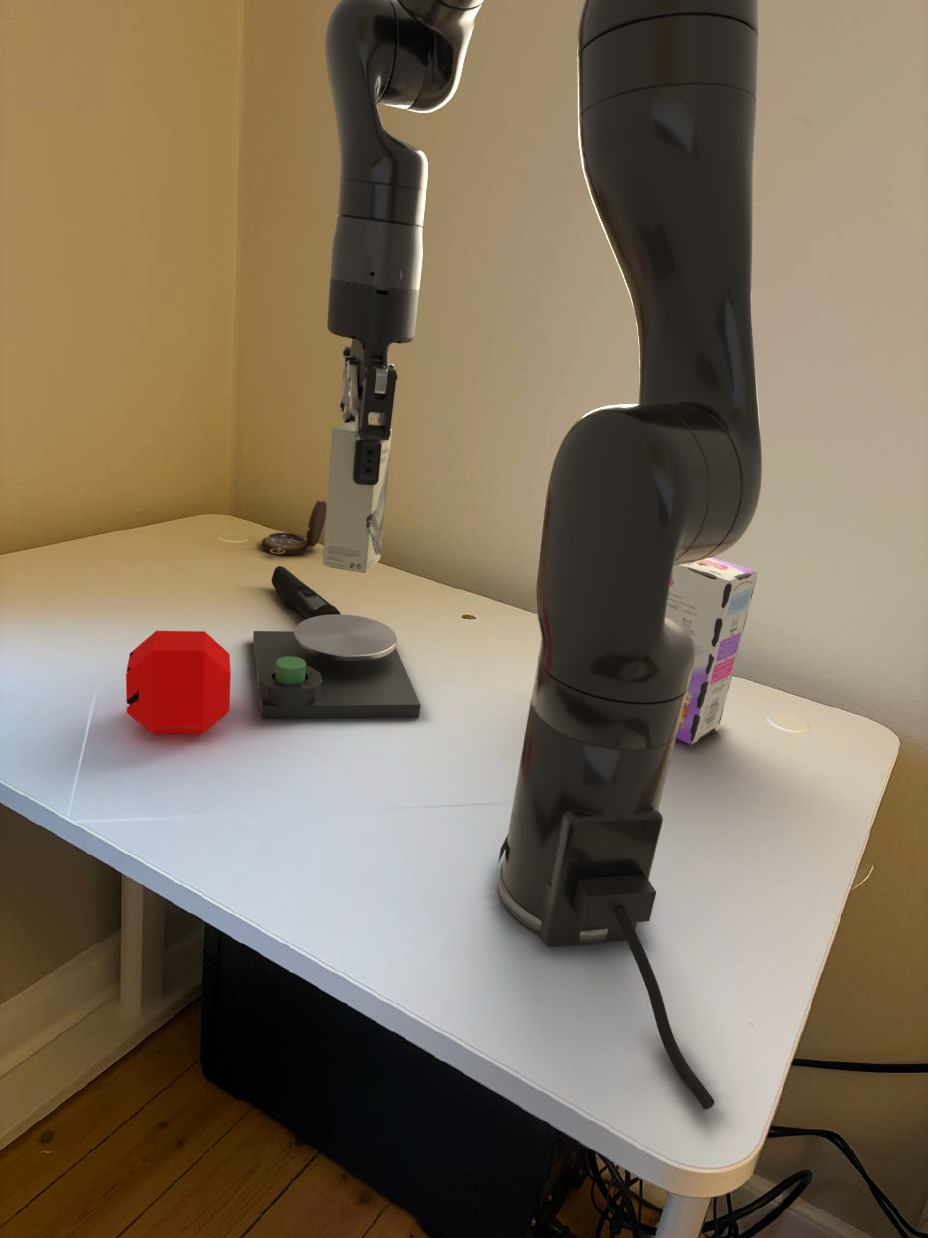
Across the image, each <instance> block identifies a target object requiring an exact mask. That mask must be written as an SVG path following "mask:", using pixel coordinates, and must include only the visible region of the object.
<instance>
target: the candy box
mask: <svg viewBox="0 0 928 1238" xmlns="http://www.w3.org/2000/svg"><path fill="white" fill-rule="evenodd" d="M758 573H759V571H758V570H755V569H753V568H752V569H751V568H748V567H746V566H743V565H739V564H735V563H733V562H729V561H726V560H723V559H721V558H717V557H715V556H714V557H711V558H707V559H703V560H699V561H695V562H690V563H686V564H681V565H676V566H673V571H672V576H671V582H670V588H669V594H668V601H667V608H666V616H665V617H667V618H669V619H671V620H673V621H674V622H676V623H677V624H679V625H680V626H681V627H683V628H684V629H685V630H686V631H687V632H688V633H689V634H690V636H691V637H692V639H693V642H694V645H695V661H694V666H693V670H692V674H691V679H690V683H689V686H688V690H687V695H686V699H685V703H684V707H683V711H682V715H681V719H680V724H679V728H678V732H677V735H676V739H675V740H679V741H681V742H684V743H686V744H688V745H690V746H692V745H693V744H696V743H697V742H699V741H700V740H702V739H704V738H705V737H707V736H709V735H711V734H713V733H715V732H717V730H719V728H720V724H721V720H722V718H723V717H722V716H723V713H724V708H725V704H726V701H727V697H728V693H729V690H730V685H731V681H732V678H733V674H734V669H735V665H736V662H737V657H738V653H739V649H740V646H741V642H742V637H743V634H744V629H745V625H746V622H747V618H748V613H749V609H750V605H751V601H752V597H753V594H754V589H755V585H756V582H757V577H758Z"/></svg>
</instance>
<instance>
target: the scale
mask: <svg viewBox="0 0 928 1238" xmlns="http://www.w3.org/2000/svg"><path fill="white" fill-rule="evenodd" d="M252 633H253V634H252V646H253V655H254V663H255V664H254V665H255V675H256V683H257V688H256V689H257V696H258V701H259V707H260V708H259V710H260V718H261V719H260V720H264V721H266V720H329V719H332V720H334V719H339V720H340V719H341V720H342V719H394V718H395V719H401V718H403V719H405V718H410V719H411V718H420V713H421V701H420V700H419V697H418V695H417V693H416V691H415V689H414V686H413V684H412V682H411V679H410V677H409V675H408V673H407V670H406V668H405V666H404V663H403V660H402V659H401V657H400V654H399V651H398V649H397V647H396V648H395V649H394V650H393V651H392V652H391V653H390V654H388V655H386V656H384V657H381V658H378V659H374V660H368V661H354V662H352V661H337V660H331V659H326V658H322V657H319V656H316V655H313V654H311V653H308V652H306V651H305V650H303V649H302V648H300V647H299V646H298V645H297V644H296V642H295V640H294V630H293V631H290V630H289V631H288V630H253V632H252ZM287 656H292V657H298V658H301V659H303V660H304V661H305V662H306V671H305V681H304V683H301V684H297V685H286V684H282V683H278V682H276V680H275V671H276V661H277V660H278V659H279V658H282V657H287Z"/></svg>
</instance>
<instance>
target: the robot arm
mask: <svg viewBox="0 0 928 1238" xmlns="http://www.w3.org/2000/svg"><path fill="white" fill-rule="evenodd" d="M485 1H486V0H339V1H338V3H336V5H335V6H334V8H333V10H332V12H331V14H330V16H329V19H328V21H327V25H326V30H325V36H324V56H325V64H326V72H327V77H328V78H327V79H328V81H329V88H330V93H331V98H332V102H333V108H334V115H335V122H336V128H337V129H336V131H337V137H338V138H337V139H338V145H339V147H338V148H339V155H340V157H339V159H340V174H339V188H338V189H339V190H338V191H339V192H338V203H337V205H338V207H337V215H338V216H337V217H336V224H335V230H334V235H333V241H332V247H331V263H330V275H329V276H330V277H329V292H328V293H329V294H328V307H327V308H328V309H327V323H326V324H327V325H326V327H327V330H328V331H329V332H330V333H331V334H333V335H335V336H337V337H341V338H346V339H351V344H350V345H351V346H344V349H343V351H342V356H343V359H342V365H341V368H342V383H341V384H342V385H341V390H340V391H341V392H340V394H341V402H340V403H339V408H340V410H341V414H342V415H341V418H342V422H343V424H345V423H348V422H351V421H352V422H355V431H354V437H355V452H354V465H353V480H354V482H355V483H356V484H359V485H376V484H377V483H378V481H379V470H380V459H381V448H382V443H384V442H385V440H387V441H388V440H389V437H390V436H391V430H390V428H391V429H392V419H393V412H394V411H393V410H394V403H395V393H396V385H397V381H398V374H397V369H395V365H394V364H391V363H390V351H389V349H390V345H392V344H408V343H411V342H412V341H413V340H414V339H415V335H416V326H417V318H418V307H419V297H420V287H421V277H422V266H423V226H424V216H425V207H426V195H427V186H428V185H427V184H428V171H429V169H428V167H429V166H428V165H429V164H428V159H427V157H426V155H425V153H424V152H423V151H422V150H421V149H419V148H417V147H416V146H414V145H412V144H410V143H408V142H406V141H403V140H401V139H399V138H397V137H395V136H394V135H393V134H391V133H390V132H389V131H388V130H387V129H386V126H385V125H384V122H383V120H382V118H381V114H380V112H379V106H378V105H380V106H385V107H389V108H394V109H399V110H403V111H410V112H412V113H419V114H423V113H424V114H427V113H432V112H434V111H436V110H437V111H438V109H440V108H442V107H443V106H445V105H446V104H447V103H448V102H449V101H450V100H451V99H452V98H453V96H454V94H455V93H456V91H457V89H458V86H459V83H460V80H461V75H462V71H463V66H464V62H465V58H466V53H467V50H468V47H469V44H470V40H471V37H472V34H473V30H474V27H475V24H476V21H477V18H478V16H479V13H480V10H481V8H482V6H483V4H484V3H485ZM758 1H759V0H584V1H583V4H582V9H581V13H580V16H579V20H578V29H577V45H576V47H577V52H576V54H577V55H576V57H577V59H576V60H577V128H578V129H577V131H578V132H577V133H578V145H579V146H578V147H579V154H580V161H581V167H582V171H583V175H584V179H585V182H586V185H587V188H588V192H589V195H590V199H591V202H592V204H593V206H594V209H595V211H596V214H597V218H598V220H599V222H600V224H601V227H602V229H603V231H604V234H605V236H606V239H607V241H608V244H609V246H610V248H611V250H612V254H613V255H614V258H615V260H616V263H617V265H618V267H619V270H620V272H621V275H622V278H623V280H624V283H625V286H626V288H627V291H628V294H629V297H630V300H631V301H630V302H631V304H632V307H633V308H632V309H633V311H634V317H635V323H636V329H637V340H638V359H639V392H638V393H639V394H638V403H630V404H629V403H626V404H613V405H606V406H602V407H599V408H596V409H593V410H591V411H589V412H587V413H586V414H584V415H583V416H582V417H580V418H578V420H577V421H575V422H574V423H573V425H572V426H571V428H570V429H569V430H568V431H567V432H566V434H565V436H564V437H563V440H562V441H561V443H560V445H559V447H558V450H557V452H556V455H555V458H554V459H553V464H552V467H551V471H550V475H549V480H548V486H547V491H546V497H545V503H544V504H545V506H544V513H543V523H542V532H541V541H540V550H539V552H540V553H539V560H538V569H537V578H536V585H535V609H536V610H535V611H536V616H537V621H538V627H539V631H540V645H539V651H538V657H537V663H536V669H535V675H534V680H533V685H532V690H531V691H532V692H531V697H530V701H529V707H528V712H527V713H528V714H527V719H526V726H525V732H524V736H523V743H522V749H521V755H520V759H519V760H520V761H519V766H518V772H517V778H516V785H515V790H514V796H513V802H512V807H511V814H510V820H509V826H508V832H507V835H506V837H505V839H504V840H503V843H502V845H501V847H500V850H499V856H498V862H497V864H499V863H500V862H501V859H502V857H503V855H504V857H503V861H502V863H501V867H500V870H499V875H498V876H499V877H498V885H497V887H498V893H499V896H500V899H501V901H502V903H503V905H504V906H505V908H506V909H507V911H509V913H510V914H511V915H512V916H513V917H514V918H515V919H516V920H517V921H519V922H520V923H522V924H523V925H524V926H526V927H528V928H529V929H531V930H533V931H534V932H536V933H538V934H539V935H540V936H541V938H542V940H543V942H544V944H545V945H547V946H550V947H552V946H564V945H574V944H575V945H577V944H591V943H599V942H609V941H622V940H626V943H627V945H628V947H629V949H630V951H631V954H632V956H633V959H634V961H635V964H636V965H637V968H638V971H639V973H640V975H641V978H642V980H643V983H644V986H645V989H646V992H647V994H648V997H649V1002H650V1005H651V1009H652V1012H653V1017H654V1020H655V1024H656V1028H657V1030H658V1034H659V1037H660V1040H661V1042H662V1044H663V1047H664V1049H665V1052H666V1054H667V1056H668V1058H669V1060H670V1062H671V1064H672V1066H673V1067H674V1069H675V1070H676V1072H677V1074H678V1075H679V1077H680V1078H681V1079H682V1081H683V1082H684V1084H685V1085H686V1086H687V1088H688V1089H689V1091H690V1092H691V1093H692V1095H693V1096H694V1097H695V1099H696V1100H697V1102H698V1103H699V1104H700V1106H701V1107H702V1109H703V1110H709V1109H711V1108H713V1106H714V1105H715V1100H714V1098H713V1096H712V1095H711V1093H710V1092H709V1091H708V1090H707V1088H706V1087H705V1085H704V1084H703V1083H702V1082H701V1080H700V1079H699V1078H698V1077H697V1075H696V1074H695V1072H694V1071H693V1070H692V1068H691V1066H689V1064H688V1062H687V1060H686V1059H685V1057H684V1055H683V1054H682V1051H681V1050H680V1048H679V1045H678V1043H677V1041H676V1038H675V1036H674V1032H673V1031H672V1027H671V1024H670V1020H669V1018H668V1013H667V1010H666V1006H665V1002H664V999H663V996H662V993H661V989H660V986H659V983H658V981H657V977H656V975H655V973H654V970H653V967H652V965H651V963H650V961H649V958H648V956H647V953H646V951H645V949H644V947H643V944H642V943H641V940H640V938H639V936H638V933H637V929H638V924H639V923H643V922H650V919H651V916H652V911H653V908H654V903H655V901H656V900H655V899H656V896H657V890H656V889H655V888H654V886H653V884H652V883H651V881H650V875H651V871H652V867H653V862H654V859H655V854H656V851H657V847H658V843H659V839H660V835H661V831H662V826H663V821H664V817H663V814H662V813H661V812H660V811H659V809H660V805H661V801H662V797H663V793H664V788H665V784H666V780H667V776H668V772H669V768H670V763H671V759H672V755H673V750H674V748H675V743H676V740H677V739H676V735H677V732H678V728H679V724H680V719H681V715H682V711H683V707H684V703H685V699H686V695H687V690H688V686H689V683H690V679H691V674H692V670H693V666H694V661H695V645H694V642H693V639H692V637H691V636H690V634H689V633H688V632H687V631H686V630H685V629H684V628H683V627H681V626H680V625H679V624H677V623H676V622H674V621H673V620H671V619H669V618H667V617H665V616H666V608H667V601H668V594H669V588H670V582H671V576H672V571H673V566H676V565H681V564H686V563H690V562H695V561H699V560H703V559H707V558H711V557H714V558H715V557H717V556H719V555H721V554H722V553H724V552H726V551H728V550H730V549H731V548H732V547H733V546H735V544H736V543H738V542H739V541H740V539H741V538H743V536H744V535H745V533H746V531H747V530H748V528H749V527H750V525H751V523H752V522H753V519H754V517H755V514H756V511H757V508H758V504H759V501H760V494H761V489H762V476H763V456H762V455H763V453H762V439H761V438H762V435H761V424H760V411H759V410H760V409H759V400H758V399H759V398H758V386H757V374H756V363H755V350H754V349H755V348H754V335H753V334H754V333H753V319H752V318H753V315H752V314H753V313H752V276H753V275H752V273H753V214H754V213H753V208H754V206H753V203H754V202H753V201H754V200H753V197H754V196H753V195H754V194H753V192H754V191H753V189H754V188H753V186H754V185H753V183H754V181H753V179H754V177H753V175H754V150H755V149H754V148H755V133H756V121H757V120H756V118H757V88H758V87H757V86H758V85H757V84H758V48H759V47H758V46H759V45H758V44H759V9H758V7H759V6H758ZM373 417H374V418H376V419H377V424H373V423H372V420H373ZM371 423H372V424H371ZM391 437H392V436H391Z"/></svg>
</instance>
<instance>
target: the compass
mask: <svg viewBox="0 0 928 1238" xmlns="http://www.w3.org/2000/svg"><path fill="white" fill-rule="evenodd" d="M313 500H315V501H316V502H315V504H314V507H313V508H312V511H311V514H310V518H309V521H308V526H307V527H308V528H309V529H307V531H306V538H305V537H304V536H302V535H301V534H297V533H293V532H274V533H270V534H269V535H267V536H266V537H264V538H263V539H262V540H261V542H262V543H261V545H262V548H263V549H265V550H266V551H267V552H270V553H271V554H275V555H286V556H287V555H288V556H291V555H292V556H295V555H301V554H304V553H306V552H308V551H309V550H310V547H313V548H314V547H315V546H317V544H318V543H319V541H320V538H321V537H322V533H323V529H324V528H325V527H324V526H325V523H326V510H327V501H325V500H321V499H317V498H313Z"/></svg>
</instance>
